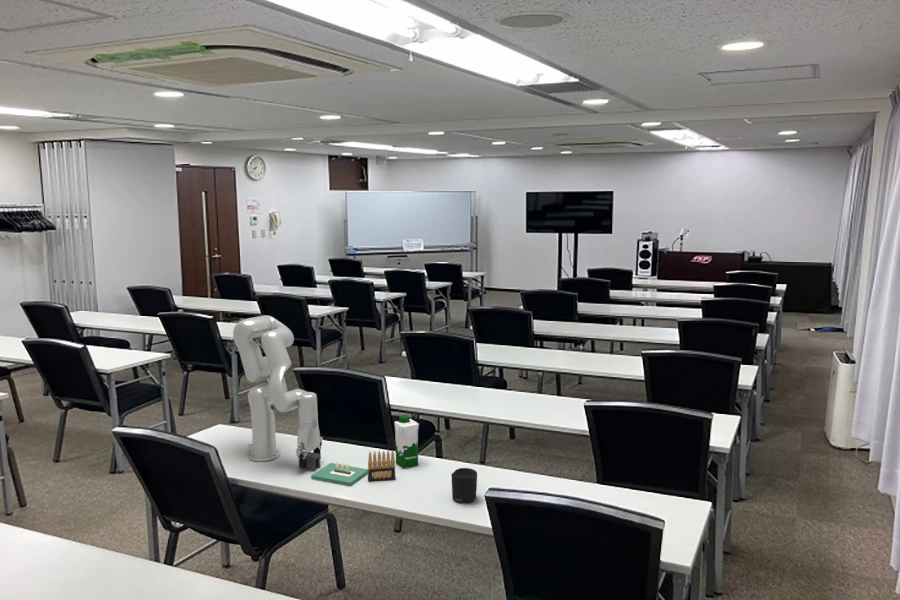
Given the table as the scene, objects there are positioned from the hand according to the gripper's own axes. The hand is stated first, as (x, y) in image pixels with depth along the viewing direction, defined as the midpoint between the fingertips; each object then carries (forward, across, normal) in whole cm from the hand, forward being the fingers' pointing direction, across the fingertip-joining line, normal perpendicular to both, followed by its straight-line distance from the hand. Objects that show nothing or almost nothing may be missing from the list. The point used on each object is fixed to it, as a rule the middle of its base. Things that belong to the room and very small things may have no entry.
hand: (310, 463), depth 274 cm
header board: (+2, +2, +16) cm, 16 cm away
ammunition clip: (+3, -1, +32) cm, 33 cm away
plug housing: (+2, 0, 0) cm, 2 cm away
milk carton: (+3, -19, +34) cm, 40 cm away
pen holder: (+4, +2, +68) cm, 69 cm away
